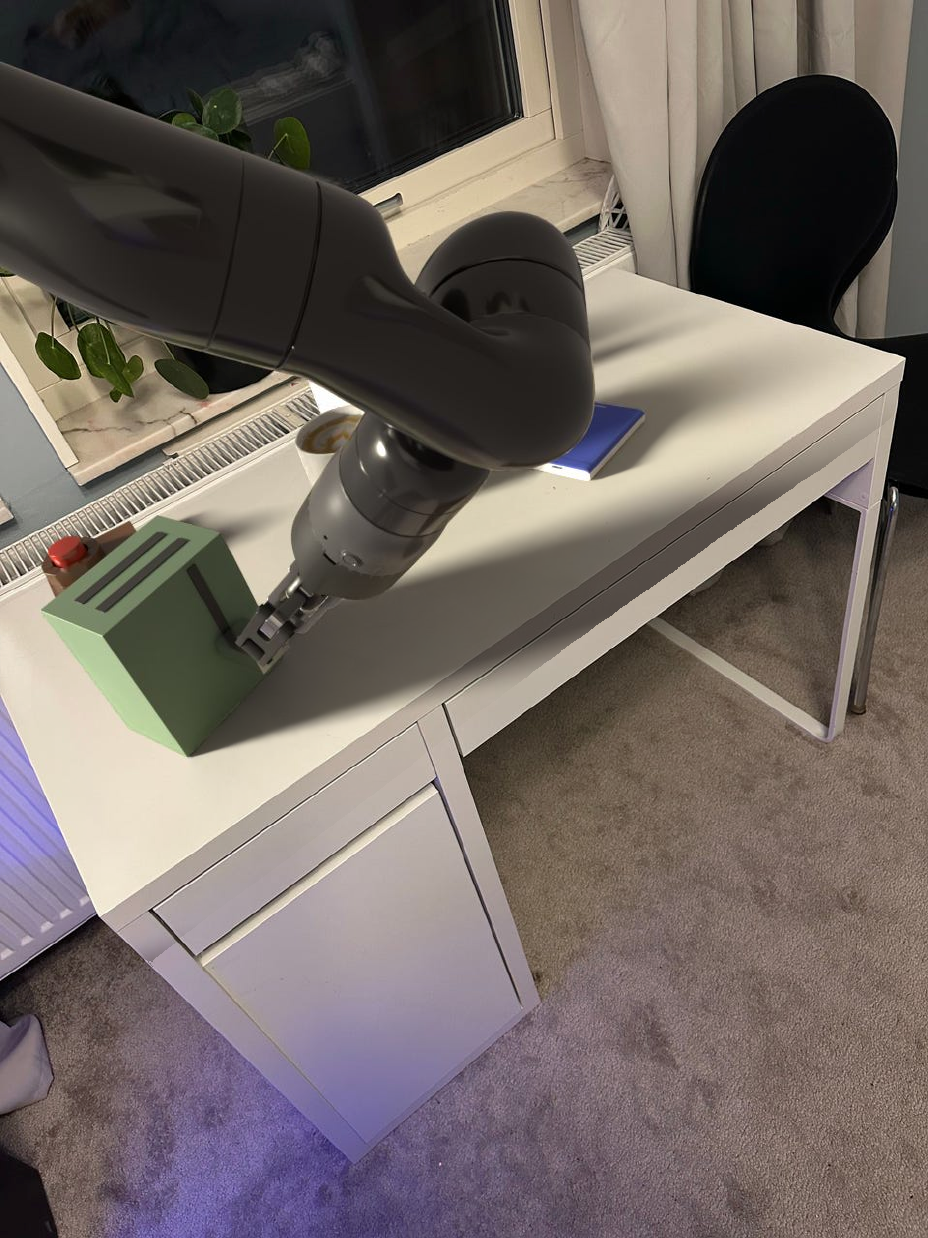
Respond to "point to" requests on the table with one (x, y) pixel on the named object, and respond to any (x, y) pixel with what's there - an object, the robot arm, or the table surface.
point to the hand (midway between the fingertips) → (297, 610)
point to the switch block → (86, 557)
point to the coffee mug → (325, 438)
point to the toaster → (161, 631)
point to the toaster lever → (238, 654)
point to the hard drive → (597, 442)
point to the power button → (67, 551)
